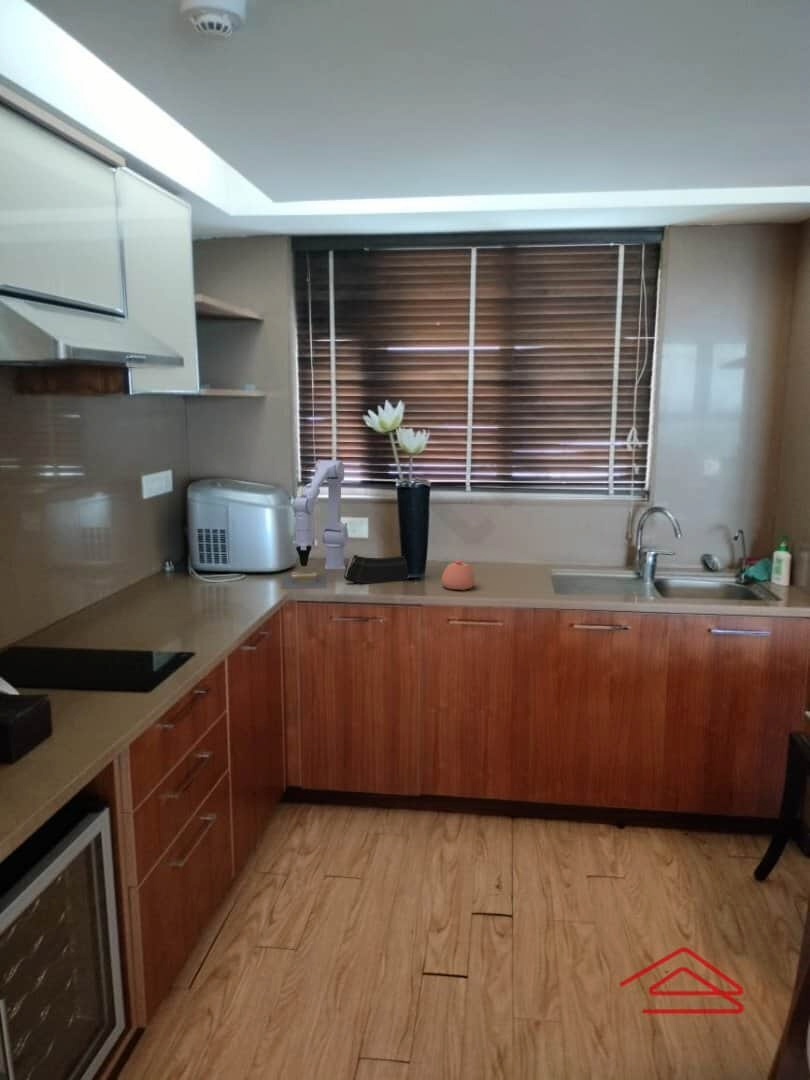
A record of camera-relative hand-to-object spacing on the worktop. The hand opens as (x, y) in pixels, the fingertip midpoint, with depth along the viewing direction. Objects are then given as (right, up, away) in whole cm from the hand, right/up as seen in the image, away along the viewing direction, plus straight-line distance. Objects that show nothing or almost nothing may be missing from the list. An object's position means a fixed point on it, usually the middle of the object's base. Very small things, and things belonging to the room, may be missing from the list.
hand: (304, 565), depth 277 cm
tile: (0, -4, +4) cm, 6 cm away
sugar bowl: (+57, -8, -5) cm, 58 cm away
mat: (0, -6, 0) cm, 6 cm away
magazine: (+29, -6, +3) cm, 30 cm away
